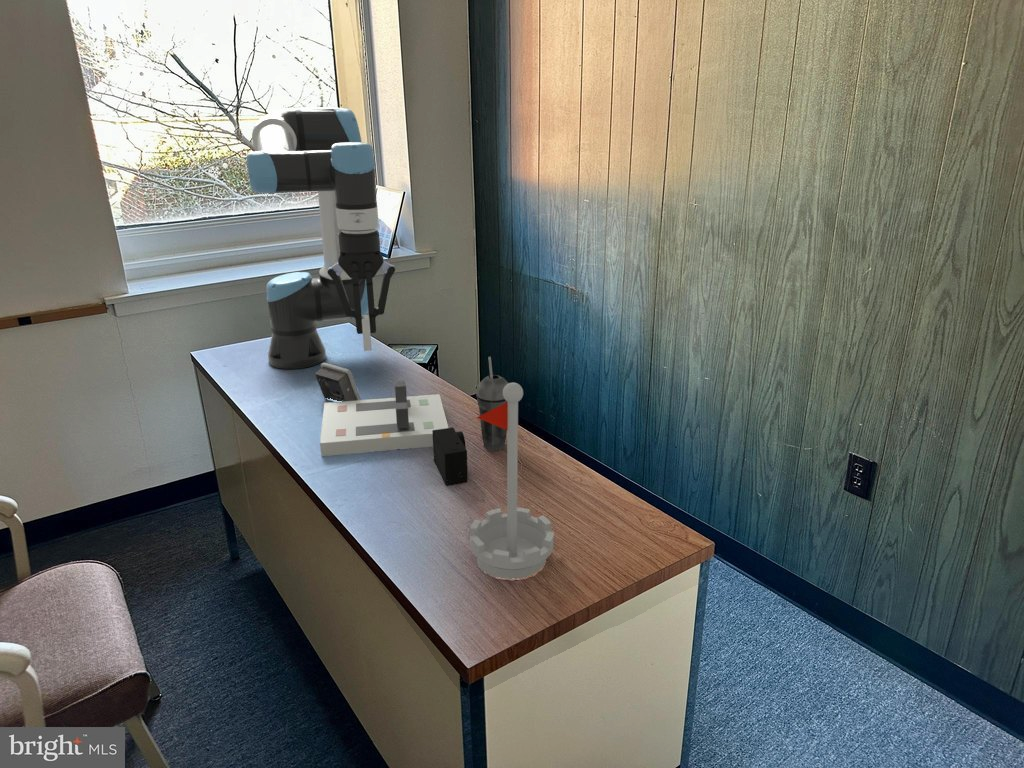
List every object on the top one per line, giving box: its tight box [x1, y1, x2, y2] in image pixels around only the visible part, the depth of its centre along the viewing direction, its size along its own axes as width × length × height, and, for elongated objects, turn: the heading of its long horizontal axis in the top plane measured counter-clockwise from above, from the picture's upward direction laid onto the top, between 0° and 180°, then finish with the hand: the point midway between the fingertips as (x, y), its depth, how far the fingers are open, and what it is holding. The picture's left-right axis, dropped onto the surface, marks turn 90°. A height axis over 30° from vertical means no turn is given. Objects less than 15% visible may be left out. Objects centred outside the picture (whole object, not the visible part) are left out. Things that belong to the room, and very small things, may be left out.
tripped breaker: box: [395, 402, 409, 429], centre depth 144 cm, size 3×2×4 cm
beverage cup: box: [475, 356, 509, 452], centre depth 141 cm, size 7×7×20 cm
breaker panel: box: [319, 393, 449, 457], centre depth 151 cm, size 20×26×3 cm
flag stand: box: [469, 382, 555, 579], centre depth 104 cm, size 13×13×30 cm
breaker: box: [393, 380, 408, 403], centre depth 155 cm, size 3×2×4 cm
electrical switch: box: [314, 362, 362, 402], centre depth 163 cm, size 9×5×9 cm, turn 57°
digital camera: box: [432, 427, 469, 487], centre depth 133 cm, size 10×5×7 cm, turn 19°
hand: (367, 348), depth 139 cm, fingers closed
